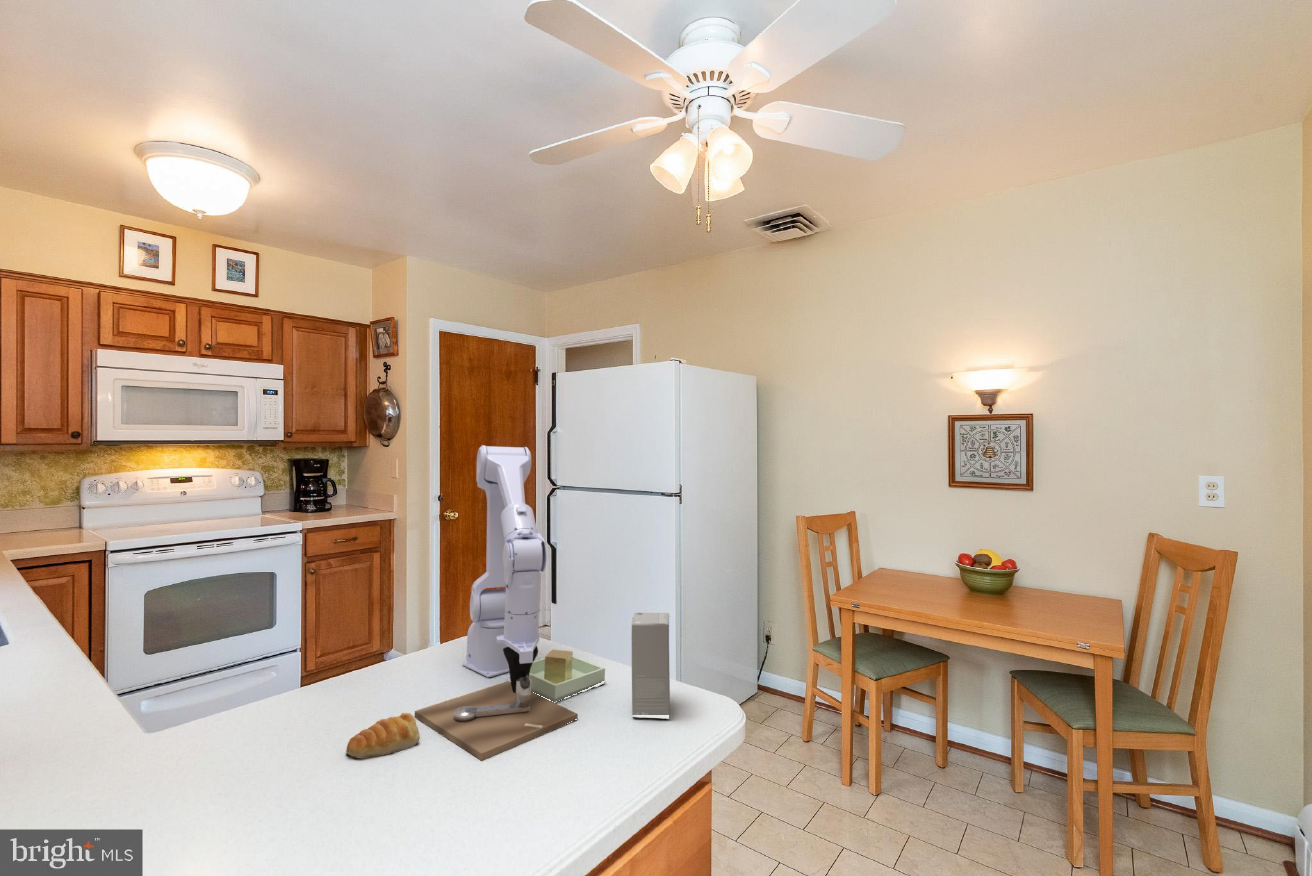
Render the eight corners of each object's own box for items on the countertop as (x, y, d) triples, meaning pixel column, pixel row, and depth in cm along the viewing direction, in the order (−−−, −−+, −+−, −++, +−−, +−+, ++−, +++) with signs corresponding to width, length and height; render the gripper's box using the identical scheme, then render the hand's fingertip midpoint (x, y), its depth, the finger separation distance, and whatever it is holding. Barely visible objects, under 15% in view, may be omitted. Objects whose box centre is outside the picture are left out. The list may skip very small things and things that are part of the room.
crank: (453, 723, 92) (455, 687, 92) (453, 711, 97) (454, 676, 97) (532, 715, 96) (533, 680, 96) (528, 703, 101) (529, 669, 101)
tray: (513, 683, 112) (513, 667, 112) (562, 667, 121) (563, 652, 121) (554, 703, 104) (555, 685, 104) (604, 684, 113) (605, 668, 113)
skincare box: (669, 721, 99) (673, 625, 99) (626, 719, 99) (630, 623, 99) (669, 700, 107) (673, 611, 107) (629, 698, 107) (633, 609, 108)
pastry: (357, 768, 81) (358, 740, 82) (338, 750, 86) (339, 724, 86) (423, 745, 88) (424, 719, 88) (402, 729, 93) (403, 705, 93)
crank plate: (414, 717, 97) (414, 710, 97) (508, 686, 110) (508, 680, 110) (481, 760, 84) (481, 752, 84) (577, 720, 98) (577, 713, 98)
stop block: (543, 683, 110) (545, 656, 110) (551, 675, 114) (552, 649, 114) (564, 686, 109) (565, 658, 109) (571, 678, 113) (572, 651, 113)
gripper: (494, 599, 106) (491, 676, 106) (501, 624, 93) (498, 712, 93) (534, 597, 109) (531, 672, 109) (547, 621, 95) (543, 707, 95)
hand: (518, 690), depth 101 cm, fingers closed, pressing on crank
